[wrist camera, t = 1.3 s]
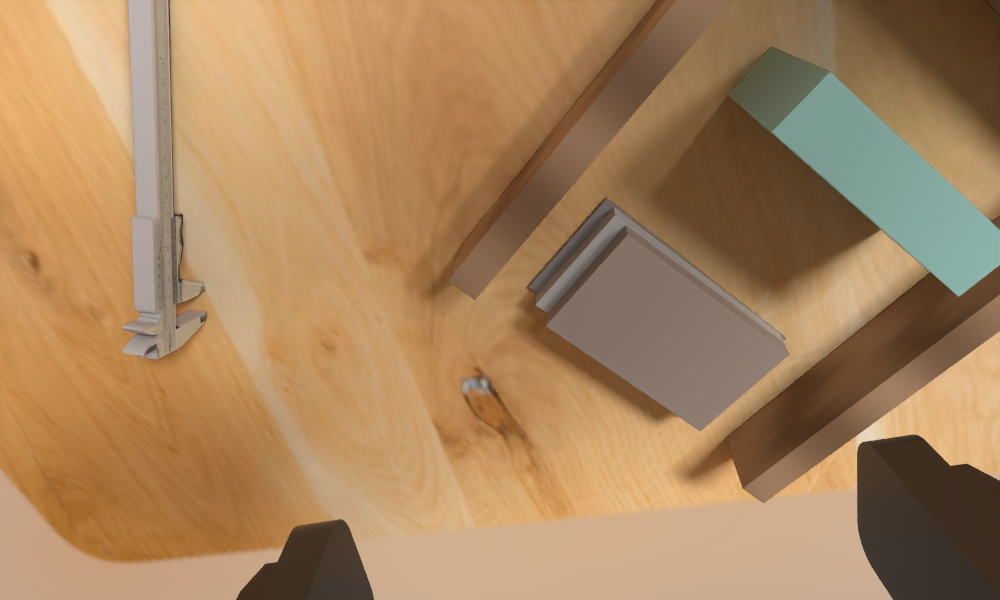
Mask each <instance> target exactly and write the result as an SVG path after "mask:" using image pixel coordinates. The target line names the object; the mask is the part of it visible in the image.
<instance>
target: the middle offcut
mask: <svg viewBox="0 0 1000 600" xmlns="http://www.w3.org/2000/svg"><path fill="white" fill-rule="evenodd" d="M625 225H626V226H628V227H629V228H630V229H632V230H633V231H634V232H636V233H637V234H639V235H640V236H641V237H643V238H644V239H645V240H647V241H648V242H649V243H651V244H652V245H653V246H655V247H656V248H657V249H659V250H660V251H661V252H663V253H664V254H665V255H667V256H668V257H669V258H671V259H672V260H674V261H675V262H676V263H678V264H679V265H680V266H682V267H683V268H684V269H686V270H687V271H688V272H690V273H691V274H692V275H694V276H695V277H696V278H698V279H699V280H700V281H702V282H703V283H705V284H706V285H707V286H709V287H710V288H711V289H713V290H714V291H715V292H717V293H718V294H719V295H721V296H722V297H723V298H725V299H726V300H727V301H729V302H730V303H731V304H733V305H734V306H735V307H737V308H738V309H740V310H741V311H742V312H744V313H745V314H746V315H748V316H749V317H750V318H752V319H753V320H754V321H756V322H757V323H758V324H760V325H761V326H762V327H764V328H765V329H766V330H768V331H769V332H770V333H772V334H773V335H775V336H776V337H777V338H779V339H780V340H781V341H782V342H783V343H784V345H785V346H786V344H785V342H784V340H783V339H782V337H781V335H780V333H779V332H777V331H776V330H775V329H773V328H772V327H771V326H769V325H768V324H767V323H766V322H764V321H763V320H762V319H760V318H759V317H758V316H756V315H755V314H754V313H752V312H751V311H750V310H749V309H747V308H746V307H745V306H743V305H742V304H741V303H739V302H738V301H737V300H735V299H734V298H733V297H732V296H730V295H729V294H728V293H726V292H725V291H724V290H722V289H721V288H720V287H718V286H717V285H716V284H715V283H713V282H712V281H711V280H709V279H708V278H707V277H705V276H704V275H703V274H701V273H700V272H699V271H698V270H696V269H695V268H694V267H692V266H691V265H690V264H688V263H687V262H686V261H684V260H683V259H682V258H681V257H679V256H678V255H677V254H675V253H674V252H673V251H671V250H670V249H669V248H667V247H666V246H665V245H663V244H662V243H661V242H660V241H658V240H657V239H656V238H654V237H653V236H652V235H650V234H649V233H648V232H646V231H645V230H644V229H643V228H641V227H640V226H639V225H637V224H636V223H635V222H633V221H632V220H631V219H629V218H628V217H627V216H626V215H624V214H623V213H622V212H620V211H619V210H618V209H616V208H615V207H614V206H613V208H612V209H611V210H610V211H609V212H608V213H607V214H606V216H605V217H604V218H603V219H602V220H601V221H600V222H599V223H598V225H597V226H596V227H595V228H594V229H593V230H592V231H591V233H590V234H589V235H588V236H587V237H586V238H585V239H584V241H583V242H582V243H581V244H580V245H579V246H578V247H577V249H576V250H575V251H574V252H573V253H572V254H571V255H570V256H569V258H568V259H567V260H566V261H565V262H564V263H563V264H562V266H561V267H560V268H559V269H558V270H557V271H556V272H555V274H554V275H553V276H552V277H551V278H550V279H549V280H548V282H547V283H546V284H545V285H544V286H543V287H542V288H541V289H540V291H539V292H538V293H537V294H536V303H535V305H536V306H537V307H539V308H540V309H542V310H543V311H544V312H546V313H548V312H549V311H550V310H551V309H552V307H553V306H554V305H555V304H556V303H557V302H558V301H559V300H560V298H561V297H562V296H563V295H564V294H565V293H566V292H567V290H568V289H569V288H570V287H571V286H572V285H573V284H574V283H575V281H576V280H577V279H578V278H579V277H580V276H581V275H582V274H583V272H584V271H585V270H586V269H587V268H588V267H589V266H590V265H591V263H592V262H593V261H594V260H595V259H596V258H597V257H598V256H599V254H600V253H601V252H602V251H603V250H604V249H605V248H606V247H607V245H608V244H609V243H610V242H611V241H612V240H613V239H614V238H615V236H616V235H617V234H618V233H619V232H620V231H621V230H622V229H623V227H624V226H625Z"/></svg>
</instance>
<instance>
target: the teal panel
mask: <svg viewBox="0 0 1000 600" xmlns="http://www.w3.org/2000/svg"><path fill="white" fill-rule="evenodd" d="M728 96H729V97H730V98H731V99H733V100H734V101H735V102H736V103H737V104H738V105H739V106H741V107H742V108H743V109H744V110H745V111H746V112H747V113H748V114H750V115H751V116H752V117H753V118H754V119H755V120H756V121H758V122H759V123H760V124H761V125H762V126H763V127H764V128H766V129H767V130H768V131H769V132H770V133H771V134H772V135H774V136H775V137H776V138H777V139H778V140H779V141H780V142H782V143H783V144H784V145H785V146H786V147H787V148H788V149H789V150H791V151H792V152H793V153H794V154H795V155H796V156H797V157H799V158H800V159H801V160H802V161H803V162H804V163H805V164H807V165H808V166H809V167H810V168H811V169H812V170H813V171H815V172H816V173H817V174H818V175H819V176H820V177H821V178H822V179H824V180H825V181H826V182H827V183H828V184H829V185H830V186H832V187H833V188H834V189H835V190H836V191H837V192H838V193H840V194H841V195H842V196H843V197H844V198H845V199H846V200H848V201H849V202H850V203H851V204H852V205H853V206H854V207H856V208H857V209H858V210H859V211H860V212H861V213H862V214H863V215H865V216H866V217H867V218H868V219H869V220H870V221H871V222H873V223H874V224H875V225H876V226H877V227H878V228H879V229H881V230H882V231H883V232H884V233H885V234H886V235H888V236H889V237H890V238H891V239H892V240H893V241H895V242H896V243H897V244H898V245H899V246H900V247H902V248H903V249H904V250H905V251H906V252H907V253H909V254H910V255H911V256H912V257H913V258H914V259H916V260H917V261H918V262H919V263H920V264H921V265H923V266H924V267H925V268H926V269H927V270H928V271H930V272H931V273H932V274H933V275H934V276H935V277H937V278H938V279H939V280H940V281H941V282H942V283H944V284H945V285H946V286H947V287H948V288H949V289H951V290H952V291H953V292H954V293H955V294H956V295H958V296H960V295H962V294H963V293H964V292H966V291H967V290H968V289H969V288H971V287H972V286H973V285H975V284H976V283H977V282H979V281H980V280H981V279H982V278H984V277H985V276H986V275H988V274H989V273H990V272H991V271H993V270H994V269H995V268H997V267H998V266H999V265H1000V230H999V229H998V228H997V227H996V226H995V225H994V224H993V223H992V222H991V221H990V220H989V219H987V218H986V217H985V216H984V215H983V214H982V213H981V212H980V211H979V210H978V209H977V208H976V207H975V206H974V205H972V204H971V203H970V202H969V201H968V200H967V199H966V198H965V197H964V196H963V195H962V194H961V193H960V192H959V191H957V190H956V189H955V188H954V187H953V186H952V185H951V184H950V183H949V182H948V181H947V180H946V179H945V178H944V177H942V176H941V175H940V174H939V173H938V172H937V171H936V170H935V169H934V168H933V167H932V166H931V165H930V164H929V163H927V162H926V161H925V160H924V159H923V158H922V157H921V156H920V155H919V154H918V153H917V152H916V151H915V150H914V149H912V148H911V147H910V146H909V145H908V144H907V143H906V142H905V141H904V140H903V139H902V138H901V137H900V136H898V135H897V134H896V133H895V132H894V131H893V130H892V129H891V128H890V127H889V126H888V125H887V124H886V123H885V122H883V121H882V120H881V119H880V118H879V117H878V116H877V115H876V114H875V113H874V112H873V111H872V110H871V109H870V108H868V107H867V106H866V105H865V104H864V103H863V102H862V101H861V100H860V99H859V98H858V97H857V96H856V95H855V94H853V93H852V92H851V91H850V90H849V89H848V88H847V87H846V86H845V85H844V84H843V83H842V82H841V81H840V80H838V79H837V78H836V77H835V76H834V75H833V74H832V73H831V72H829V71H827V70H825V69H822V68H820V67H818V66H815V65H813V64H811V63H808V62H806V61H804V60H801V59H799V58H797V57H794V56H792V55H790V54H787V53H785V52H783V51H780V50H778V49H776V48H773V47H771V48H770V49H769V50H768V51H767V52H766V53H765V54H764V55H763V56H762V58H761V59H760V60H759V61H758V62H757V63H756V64H755V65H754V66H753V67H752V68H751V70H750V71H749V72H748V73H747V74H746V75H745V76H744V77H743V78H742V79H741V81H740V82H739V83H738V84H737V85H736V86H735V87H734V88H733V89H732V90H731V92H730V93H729V94H728Z"/></svg>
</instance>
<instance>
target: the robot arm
mask: <svg viewBox="0 0 1000 600" xmlns="http://www.w3.org/2000/svg"><path fill="white" fill-rule="evenodd" d="M857 502H858V503H857V505H858V506H857V513H858V530H859V535H860V539H861V543H862V546H863V549H864V551H865V554H866V556H867V559H868V561H869V562H870V564H871V566H872V568H873V570H874V571H875V573H876V574H877V576H878V577H879V579H880V580H881V582H882V583H883V585H884V586H885V588H886V589H887V591H888V592H889V594H890V595H891V597H892V599H893V600H1000V481H999V480H997V479H995V478H993V477H991V476H990V475H988V474H986V473H984V472H982V471H980V470H978V469H976V468H974V467H972V466H970V465H968V464H961V465H955V466H950V465H949V464H948V463H947V462H946V461H945V460H944V459H943V458H942V457H941V456H940V455H939V454H938V453H937V452H936V451H935V450H934V449H933V448H932V447H931V446H930V445H929V444H928V443H927V442H926V441H925V440H924V439H923V438H922V437H920V436H918V435H907V436H901V437H894V438H888V439H881V440H874V441H868V442H862V443H861V444H860V445H859V447H858V452H857ZM236 600H374V598H373V593H372V589H371V586H370V583H369V581H368V578H367V575H366V572H365V570H364V567H363V564H362V561H361V559H360V556H359V553H358V551H357V548H356V545H355V542H354V540H353V537H352V534H351V531H350V529H349V527H348V525H347V523H346V522H345V521H344V520H341V519H340V520H333V521H327V522H320V523H313V524H307V525H300V526H296V527H295V528H294V529H293V530H292V532H291V534H290V536H289V538H288V540H287V542H286V544H285V547H284V549H283V551H282V553H281V556H280V558H279V560H278V562H275V563H268V564H265V565H264V566H263V567H262V568H261V570H260V571H259V572H258V573H257V574H256V575H255V576H254V577H253V578H252V579H251V580H250V581H249V582H248V584H247V585H246V586H245V587H244V588H243V589H242V590H241V591H240V593H239V595H238V597H237V599H236Z"/></svg>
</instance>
